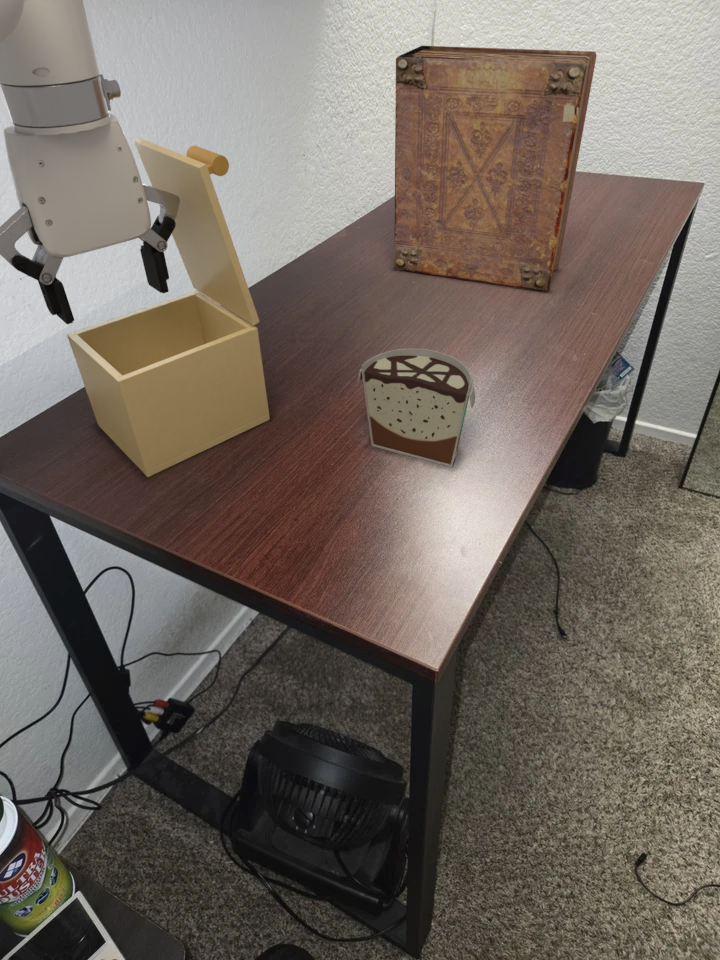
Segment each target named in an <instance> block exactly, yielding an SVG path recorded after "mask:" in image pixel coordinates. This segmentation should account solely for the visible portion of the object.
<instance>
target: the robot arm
mask: <svg viewBox="0 0 720 960" xmlns="http://www.w3.org/2000/svg"><path fill="white" fill-rule="evenodd" d="M87 17H88V16H87V13H86V9H85V5H84V0H0V88H1V92H2V94H3V98H4V101H5V105H6V107H7V110H8V113H9V116H10V120H11V122H12V125H11V126H7V127H5V128H4V129H3V136H4V143H5V151H6V156H7V161H8V167H9V170H10V175H11V179H12V183H13V188H14V191H15V195H16V198H17V203H18V206H19V209H18V210H16V211H15V212H14V213H13V214H12V215H11V216H10V217H9V218H8V219H7V220H5V221H4V223H2V224H1V225H0V256H1V257H2V258H3V259H4V260H6V262H7V263H9V265H11V266H12V267H13V268H14V269H15V270H17V271H18V272H20V273H22V274H24V275H26V276H27V277H30V278H32V279H34V280H36V281H37V283H38V285H39V289H40V291H41V294H42V297H43V299H44V302H45V305H46V307H47V311H48V312H49V313H50V314H51V315H52V316H57V317H58V318H59V319H60V320H62V321H63V322H64V323H65V324H66V325H70V324H73V323H74V321H75V317H74V314H73V311H72V308H71V305H70V302H69V299H68V295H67V292H66V290H65V286H64V284H63V282H62V281H61V280H59V279H58V278H57V274H58V272H59V269H60V267H61V264H62V262H63V260H64V258H69V257H74V256H78V255H82V254H85V253H89V252H93V251H97V250H101V249H104V248H108V247H111V246H115V245H118V244H122V243H126V242H129V241H133V240H136V239H139V240H140V241H142V242H143V243H142V245H140V249H139V251H140V255H141V260H142V263H143V268H144V272H145V277H146V281H147V284H148V285H149V286H150V287H151V288H153V289H154V290H156V291H157V292H159V293H160V294H161V293H162V294H166V293H168V292H169V285H168V280H169V279H170V274H169V270H168V266H167V265H168V264H167V261H166V256H165V251H166V250H167V248H168V247H169V246H168V241H169V239H170V238H171V236H172V232H173V230H174V228H175V226H176V223H175V217H177V212H178V208H179V204H180V199H179V197H178V196H177V195H174V194H172V193H170V192H167V191H164V190H161V189H158V188H155V187H152V185H148V184H145V183H143V182H142V179H141V174H140V172H139V168H138V166H137V162H136V159H135V157H134V155H133V152H132V149H131V146H130V144H129V142H128V138H127V136H126V134H125V132H124V129H123V126H122V124H121V122H120V120H119V118H118V117H117V116H116V115H114V114H112V113H110V112H111V111H112V108H111V102H112V101H113V100H114V99H119V98H121V96H122V93H121V87H120V85H119V83H118V81H117V80H116V79H109V80H108V78H104V75H103V74H101V72H100V68H99V64H98V60H97V55H96V51H95V48H94V43H93V42H94V41H93V37H92V35H91V30H90V26H89V22H88V18H87ZM148 202H151V203H154V204H157V205H159V210H158V212H159V214H158V215H157V216H156V218H155V220H154V222H153V223H152V218H151V212H150V208H149V203H148ZM26 233H27V235H28V237H29V239H30V242H32V243H33V244H34V245H37V247H36V249H35V252H34V254H33V256H32V259H31V258H29V257H27V256H25V255H23V254H21V253H20V251H18V250H17V248H16V246H15V245H16V243H17V242H18V241H19V240H20V239H21V238H22V237H23V236H24V235H25V234H26Z"/></svg>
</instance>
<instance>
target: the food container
mask: <svg viewBox="0 0 720 960" xmlns="http://www.w3.org/2000/svg"><path fill="white" fill-rule="evenodd" d="M360 381H362V384H363V393H364V401H365V407H366V415H367V423H368V431H369V439H370V444H371V447H373V448H376V449H381V450H384V451H388V452H392V453H396V454H399V455H403V456H407V457H411V458H414V459H418V460H422V461H427V462H429V463H433V464H436V465H437V464H438V465H441V466H445V467H448V468H453V466H454V464H455V461H456V458H457V454H458V448H459V444H460V440H461V436H462V431H463V426H464V422H465V417H466V412H467V408H468V404H470V408H471V409H473V408H474V405H475V403H476V392H475V384H474V380H473V377H472V374H471V372H470V369H468V367H467V366H466V365H465V364H464V363H463V362H461V360H459V359H457V358H456V357H453V356H451V355H449V354H448V353H445V352H441V351H437V350H432V349H426V348H399V349H392V350H388V351H385V352H382V353H379V354H376V355H374V356H371V357H370V358H369V359H367V360H366V361H364V362H363V363H362V364H361V368H360V369H359V371H358V376H357V382H358V383H360Z"/></svg>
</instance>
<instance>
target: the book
mask: <svg viewBox="0 0 720 960" xmlns="http://www.w3.org/2000/svg"><path fill="white" fill-rule="evenodd" d="M597 57H598V56H597V53H596V51H594V50H593V51H590V50H588V51H587V50H563V49H561V50H560V49H531V48H504V47H503V48H500V47H499V48H498V47H473V46H471V47H470V46H446V45H445V46H442V45H441V46H440V45H420V46H418V47H416V48H414V49H410V50H409V51H407V52H405V53H402V54H400V55H397V57H396V58H395V111H394V112H395V113H394V115H395V117H394V119H395V122H394V124H395V128H394V129H395V131H394V132H395V133H394V134H395V136H394V137H395V138H394V139H395V140H394V150H395V151H394V155H395V156H394V250H393V251H394V256H393V257H394V261H393V265H394V267H393V268H394V269H395V270H399V271H406V272H410V273H411V272H412V273H418V274H425V275H431V276H437V277H443V278H451V279H456V280H463V281H468V282H469V281H470V282H477V283H482V284H489V285H496V286H502V287H508V288H515V289H522V290H528V291H534V292H539V293H540V292H541V293H548V292H549V291H550V290H551V284H552V278H553V273H554V271H557V270H558V269H559V267H560V261H561V260H560V259H561V255H562V250H563V244H564V239H565V233H566V228H567V227H566V226H567V221H568V218H569V217H568V216H569V211H570V204H571V199H572V193H573V189H574V183H575V178H576V172H577V166H578V161H579V155H580V150H581V146H582V145H581V143H582V138H583V133H584V128H585V122H586V117H587V110H588V105H589V100H590V95H591V88H592V84H593V78H594V72H595V67H596V61H597Z"/></svg>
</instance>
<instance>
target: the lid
mask: <svg viewBox="0 0 720 960" xmlns="http://www.w3.org/2000/svg"><path fill="white" fill-rule="evenodd" d="M133 143H134V145H135V147H136V150H137V153H138V155H139V158H140V160H141V162H142V165H143V167H144V170H145V172H146V175H147V177H148V179H149V182H150V184H151V187H155V188H158V189H161V190H164V191H167V192H170V193H172V194H174V195H177V196H178V197H179V199H180V204H179V208H178V212H177V217H175V223H176V226H175V228H174V230H173V232H172V234H171V236H172V238H173V241H174V243H175V246H176V248H177V250H178V253H179V254H180V258H181V260H182V262H183V265H184V267H185V270H186V272H187V275H188V277H189V279H190V282H191V284H192V288H193V289H195V291H199V292H201V293H202V294H204V295H205V296H207V297H209V298H210V299H212V300H213V301H215V302H217V303H218V304H220V305H221V306H223V307H225V308H226V309H228V310H229V311H231V312H233V313H234V314H236V315H237V316H239V317H241V318H242V319H244V320H245V321H247V322H248V323H250V324H252V325H253V326H256V325H258V324H259V323H260V318H259V316H258V313H257V310H256V309H257V308H256V307H255V304H254V301H253V298H252V295H251V292H250V289H249V286H248V283H247V280H246V277H245V274H244V271H243V268H242V265H241V263H240V259H239V257H238V254H237V251H236V247H235V245H234V242H233V239H232V236H231V233H230V231H229V227H228V224H227V221H226V219H225V215H224V212H223V210H222V206H221V204H220V201H219V198H218V195H217V191H216V189H215V186H214V182H213V180H212V176H211V175H215V176H218V177H224V176H225V175H226V174H227V173H228V172H229V169H230V163H229V160H228V159H227V157H226V156H225V155H222V154H219V153H217V152H215V151H212V150H209V149H206V148H203V147H201V146H198V145H191V146H189V147H188V148H187V150H186V154H185V155H184V154H182V153H179V152H177V151H174V150H171V149H169V148H167V147H164V146H161V145H159V144H157V143H154V142H151V141H149V140H146V139H143V138H138V139H135V140H134V141H133Z"/></svg>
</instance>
